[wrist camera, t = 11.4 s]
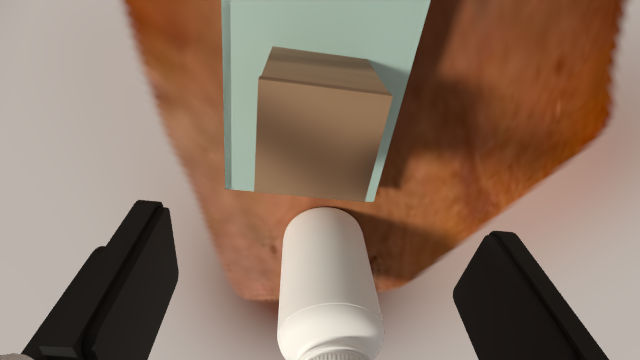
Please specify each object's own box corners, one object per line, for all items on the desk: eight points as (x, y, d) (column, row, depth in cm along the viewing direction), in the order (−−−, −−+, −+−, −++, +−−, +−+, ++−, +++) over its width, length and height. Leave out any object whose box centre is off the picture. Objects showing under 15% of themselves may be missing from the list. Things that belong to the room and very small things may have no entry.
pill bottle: (372, 248, 35) (411, 409, 22) (303, 270, 36) (302, 433, 24) (347, 192, 31) (376, 351, 18) (269, 220, 32) (247, 385, 20)
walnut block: (271, 45, 20) (258, 79, 14) (368, 58, 21) (393, 96, 15) (266, 134, 24) (254, 192, 18) (350, 143, 24) (364, 202, 18)
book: (233, 165, 29) (225, 188, 26) (232, -57, 20) (220, -60, 17) (366, 178, 30) (373, 201, 27) (419, -25, 22) (437, -23, 19)
